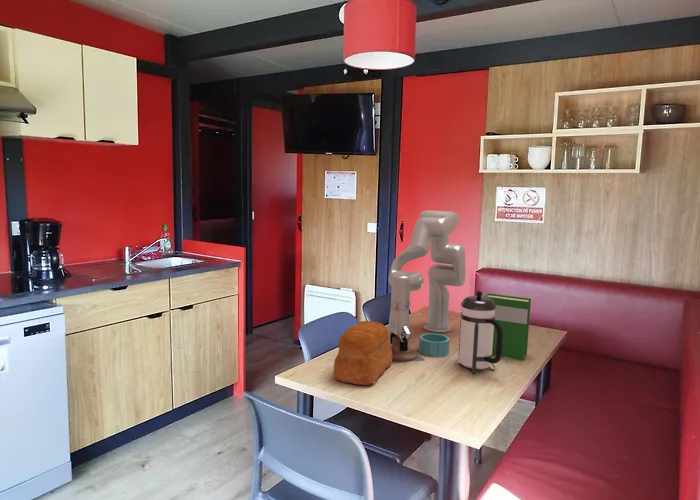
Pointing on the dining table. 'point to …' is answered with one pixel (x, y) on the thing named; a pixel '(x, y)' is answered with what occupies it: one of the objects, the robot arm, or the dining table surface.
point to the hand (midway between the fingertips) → (398, 347)
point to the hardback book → (512, 324)
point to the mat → (412, 360)
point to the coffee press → (478, 333)
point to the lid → (399, 355)
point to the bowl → (434, 345)
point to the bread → (363, 353)
